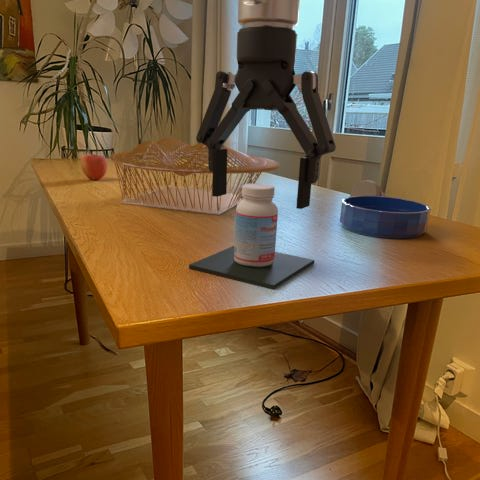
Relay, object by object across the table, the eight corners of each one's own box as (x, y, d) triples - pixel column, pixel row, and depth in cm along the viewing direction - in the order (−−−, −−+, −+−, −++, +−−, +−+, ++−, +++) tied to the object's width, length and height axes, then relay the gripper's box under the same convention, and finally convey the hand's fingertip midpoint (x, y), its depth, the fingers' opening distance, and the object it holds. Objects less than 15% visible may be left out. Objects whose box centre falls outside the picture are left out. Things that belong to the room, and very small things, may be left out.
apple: (76, 178, 137) (74, 149, 133) (98, 176, 142) (96, 148, 139) (91, 182, 133) (89, 152, 129) (113, 180, 138) (111, 150, 134)
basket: (251, 226, 95) (255, 153, 89) (80, 204, 106) (73, 138, 100) (291, 196, 126) (296, 141, 120) (156, 182, 137) (155, 131, 131)
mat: (314, 263, 75) (314, 259, 74) (273, 289, 64) (273, 285, 63) (237, 247, 81) (238, 243, 81) (188, 268, 70) (188, 264, 70)
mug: (393, 210, 117) (397, 176, 109) (366, 231, 114) (368, 197, 106) (369, 197, 121) (372, 164, 113) (343, 217, 118) (343, 184, 110)
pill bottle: (267, 270, 68) (273, 191, 64) (227, 264, 70) (230, 186, 66) (278, 259, 74) (284, 185, 69) (242, 253, 75) (245, 181, 71)
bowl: (432, 227, 101) (437, 203, 99) (414, 244, 87) (420, 217, 85) (354, 214, 109) (357, 192, 107) (327, 229, 95) (330, 204, 93)
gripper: (169, 28, 62) (173, 194, 71) (354, 18, 51) (332, 217, 59) (202, 35, 68) (202, 187, 77) (375, 28, 56) (351, 208, 65)
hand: (259, 201), depth 68 cm, fingers open, 13 cm apart
